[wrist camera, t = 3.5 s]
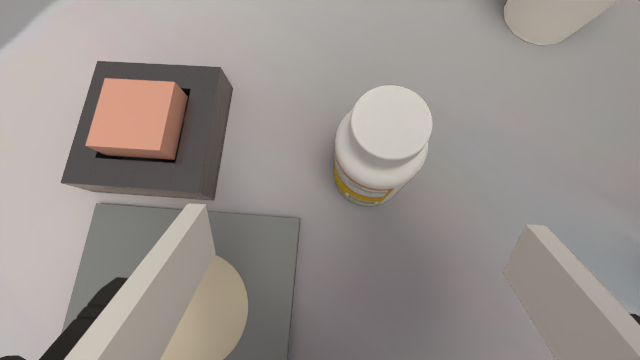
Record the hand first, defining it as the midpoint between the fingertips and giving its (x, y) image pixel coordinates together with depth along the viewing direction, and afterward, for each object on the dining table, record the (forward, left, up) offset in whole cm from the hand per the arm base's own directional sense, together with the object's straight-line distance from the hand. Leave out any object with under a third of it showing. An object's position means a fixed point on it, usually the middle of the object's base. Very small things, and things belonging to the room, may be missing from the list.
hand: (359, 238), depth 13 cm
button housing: (+16, -8, -10) cm, 20 cm away
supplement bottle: (-1, -6, -10) cm, 12 cm away
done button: (+16, -8, -8) cm, 19 cm away
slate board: (+12, +5, -10) cm, 16 cm away
